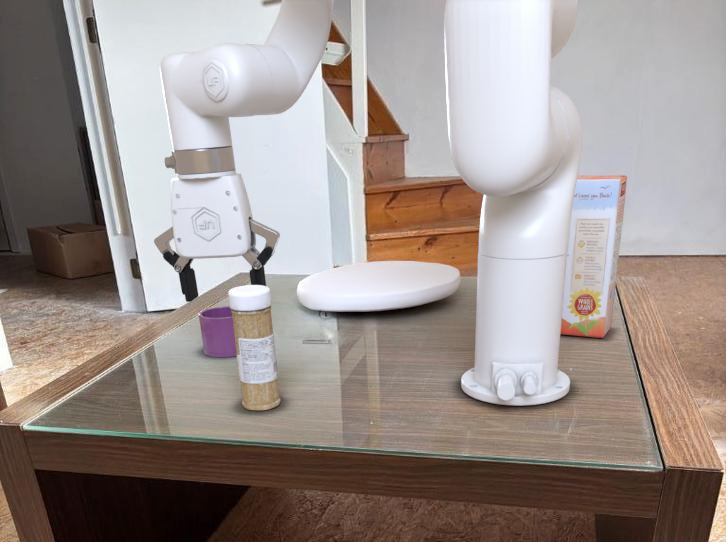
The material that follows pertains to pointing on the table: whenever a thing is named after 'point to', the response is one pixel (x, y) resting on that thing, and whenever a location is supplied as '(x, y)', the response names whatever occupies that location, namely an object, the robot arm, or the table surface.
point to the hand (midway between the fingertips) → (225, 298)
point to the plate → (378, 286)
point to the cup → (218, 332)
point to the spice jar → (255, 346)
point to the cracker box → (593, 255)
